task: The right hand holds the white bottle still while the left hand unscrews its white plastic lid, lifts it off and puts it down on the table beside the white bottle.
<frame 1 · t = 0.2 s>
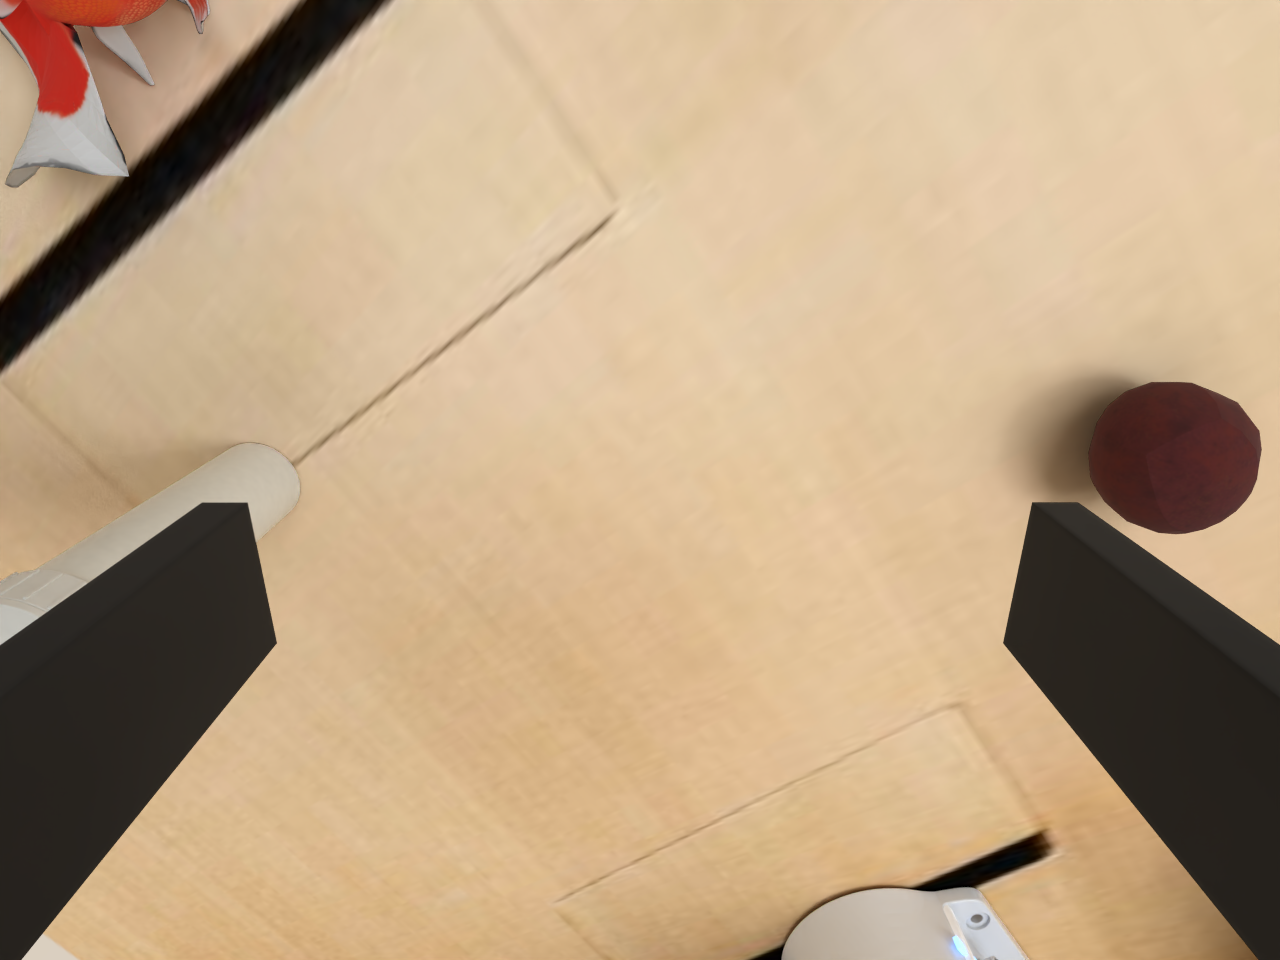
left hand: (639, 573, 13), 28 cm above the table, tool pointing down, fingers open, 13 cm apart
lid: (18, 663, 26), point 17 cm above the table, screwed on, not yet turned
white bottle: (258, 481, 42), on the table
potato: (1126, 433, 41), on the table
fish: (136, 51, 34), on the table
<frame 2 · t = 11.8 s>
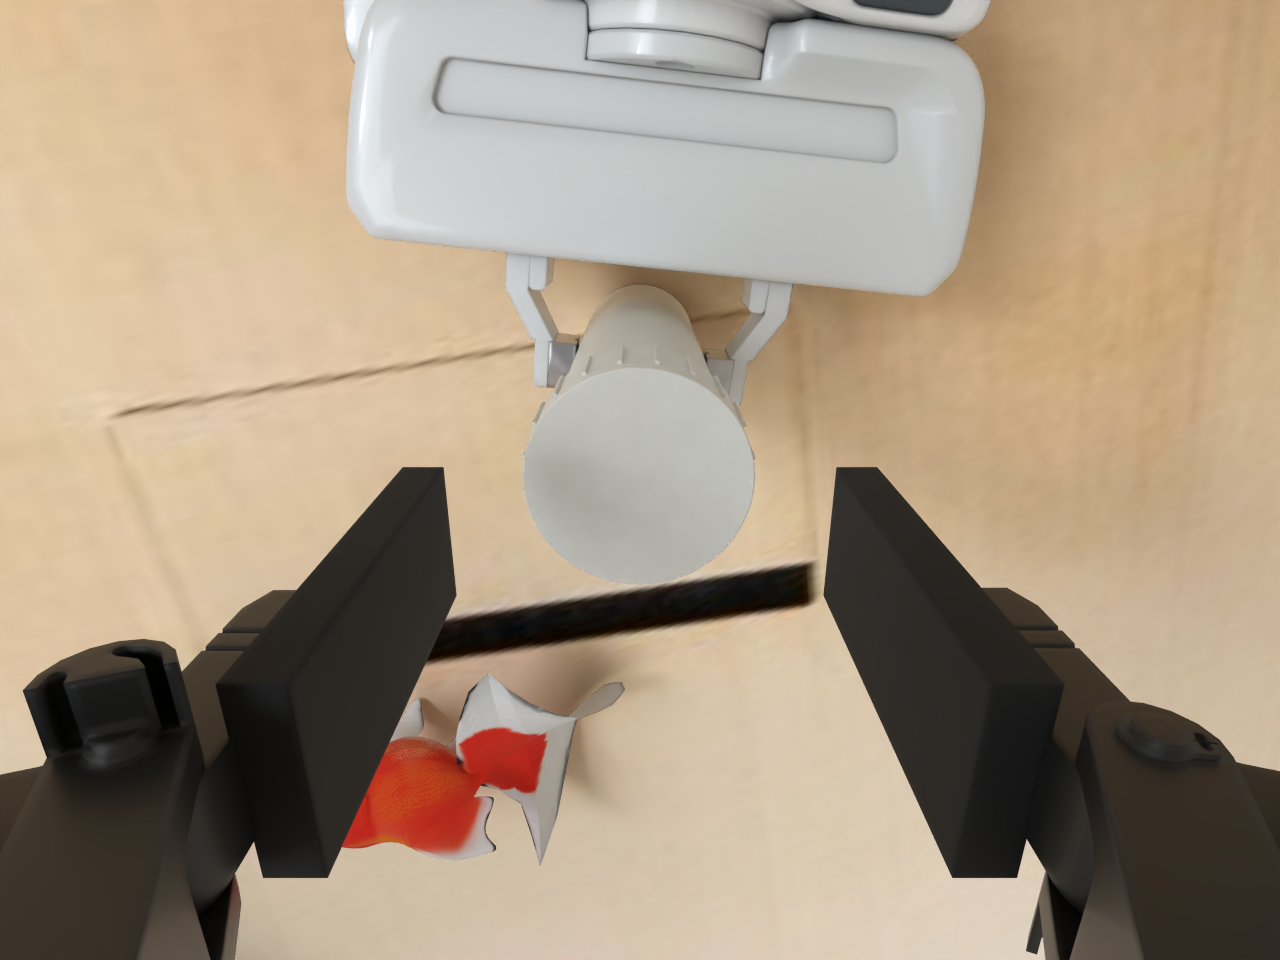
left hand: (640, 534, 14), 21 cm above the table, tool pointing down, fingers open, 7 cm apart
right hand: (638, 393, 28), fingers closed on white bottle, 5 cm apart
lid: (638, 476, 17), point 17 cm above the table, screwed on, not yet turned
white bottle: (639, 338, 33), on the table, touching right hand
fish: (491, 703, 40), on the table
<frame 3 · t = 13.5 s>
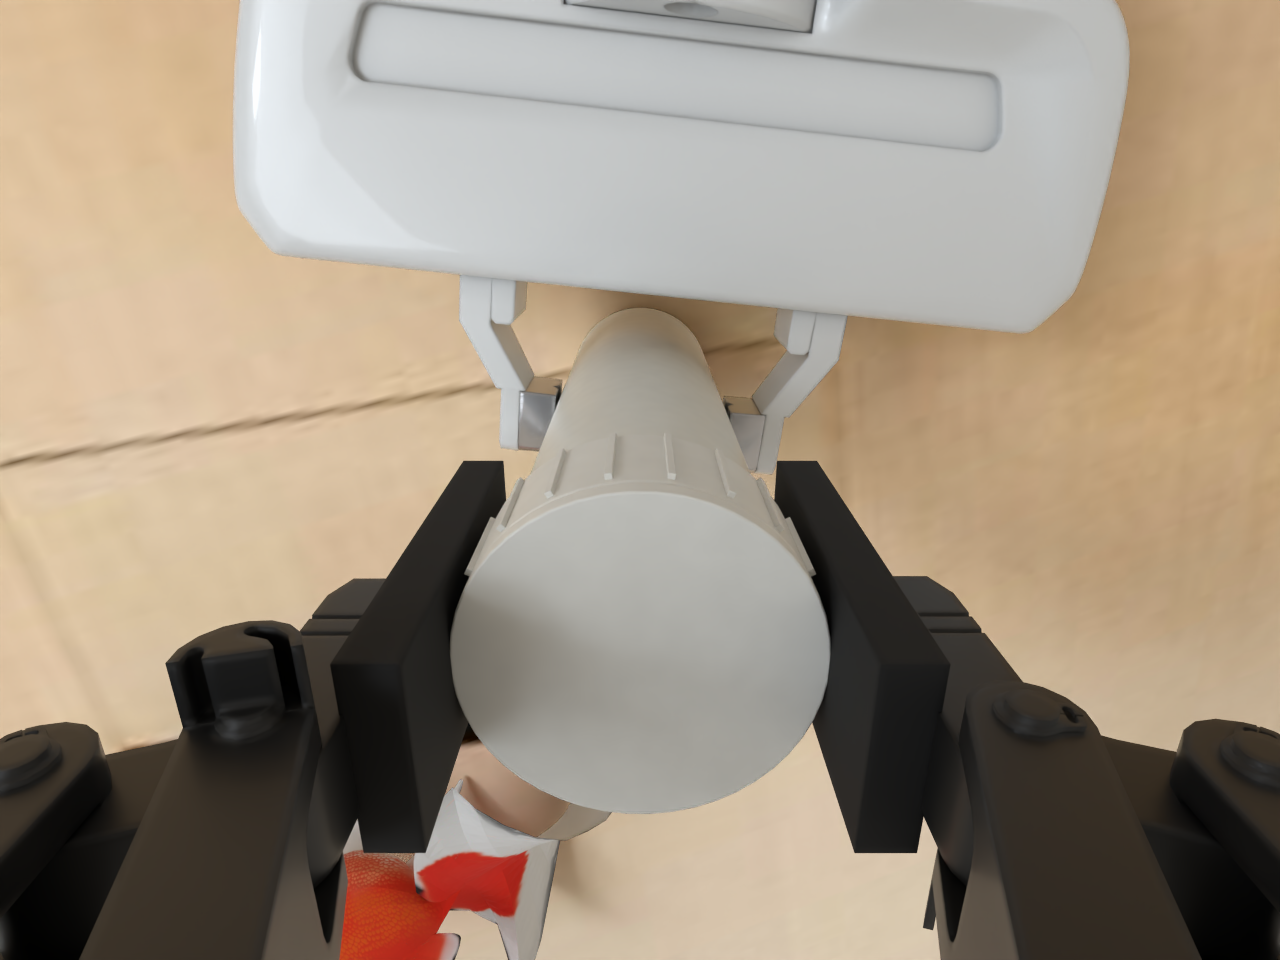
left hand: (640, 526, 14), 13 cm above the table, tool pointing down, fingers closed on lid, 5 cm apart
right hand: (638, 456, 21), fingers closed on white bottle, 5 cm apart
lid: (640, 653, 11), point 17 cm above the table, screwed on, not yet turned, touching left hand
white bottle: (640, 373, 27), on the table, touching right hand
fish: (463, 801, 34), on the table
when the left hand's fingers open (13 cm above the table, at t = 14.7 s): lid stays where it is, point 18 cm above the table.
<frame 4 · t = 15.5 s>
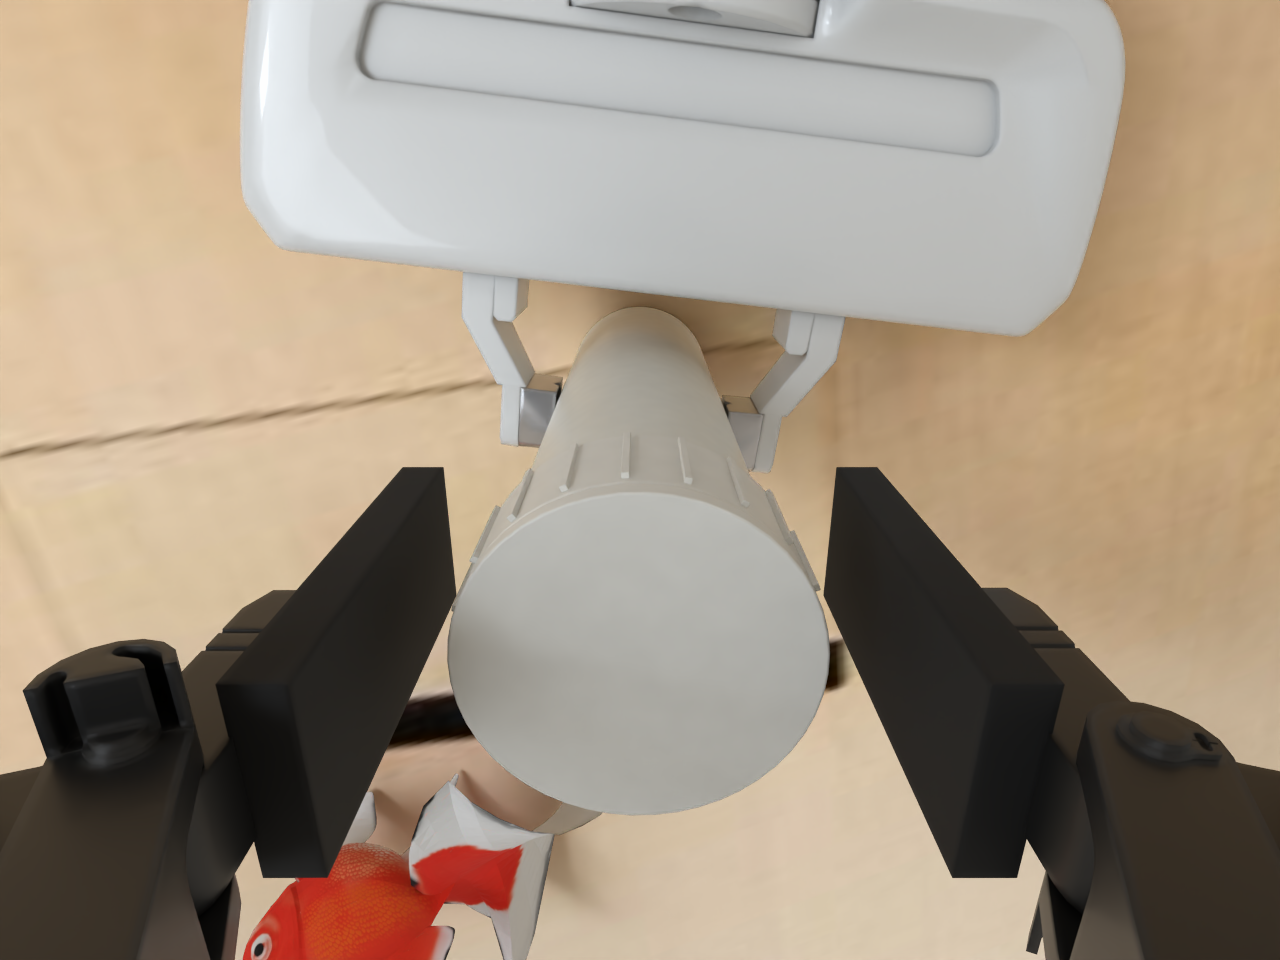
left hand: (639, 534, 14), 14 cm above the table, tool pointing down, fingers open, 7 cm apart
right hand: (637, 453, 21), fingers closed on white bottle, 5 cm apart
lid: (638, 654, 10), point 18 cm above the table, turned 85° so far, risen 0.2 cm, still on its thread
white bottle: (639, 372, 27), on the table, touching right hand
fish: (458, 796, 34), on the table
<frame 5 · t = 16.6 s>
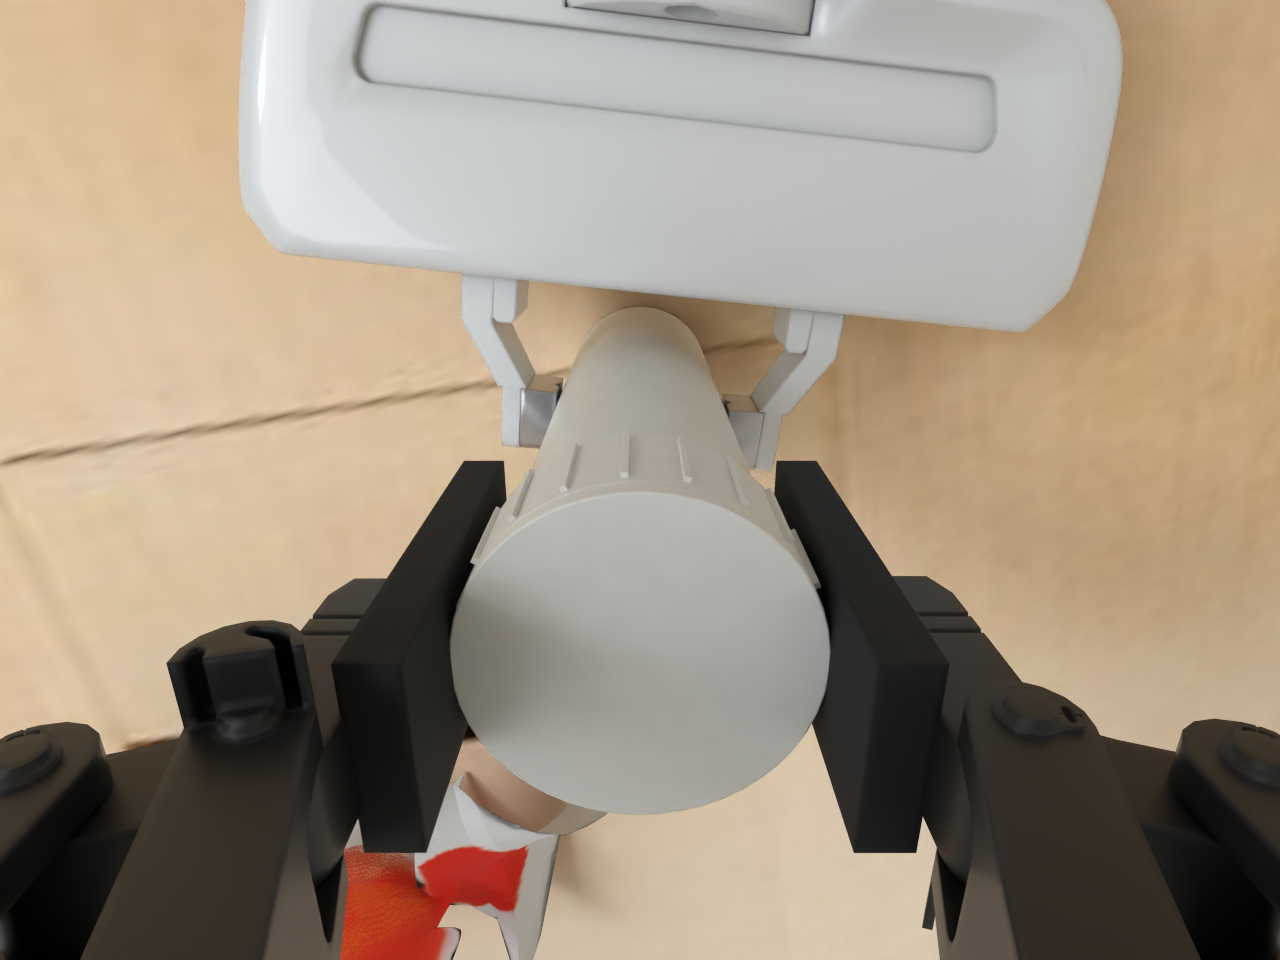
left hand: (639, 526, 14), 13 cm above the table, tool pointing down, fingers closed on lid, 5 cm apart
right hand: (638, 453, 21), fingers closed on white bottle, 5 cm apart
lid: (639, 654, 10), point 18 cm above the table, turned 85° so far, risen 0.2 cm, still on its thread, touching left hand
white bottle: (640, 372, 27), on the table, touching right hand
fish: (463, 797, 34), on the table
when the left hand's fingers open (0 cm above the table, at t = 23.2 s): lid drops 2 cm, point 2 cm above the table.
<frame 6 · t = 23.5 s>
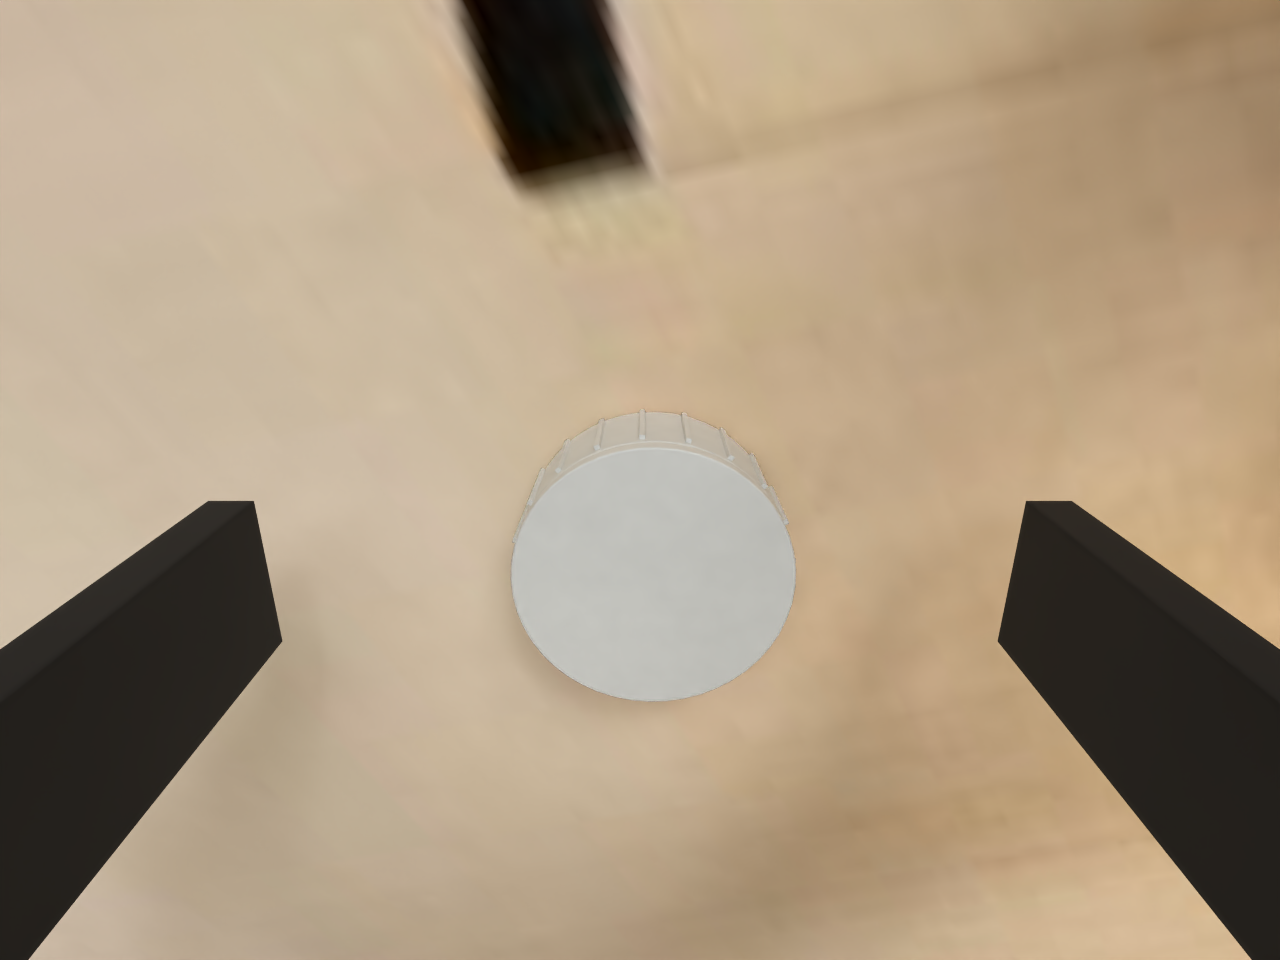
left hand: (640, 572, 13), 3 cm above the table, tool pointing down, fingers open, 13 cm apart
lid: (652, 574, 14), point 2 cm above the table, off its thread
when the right hand's fingers open (6 cm above the table, at t = 23.9 s): white bottle stays where it is, on the table.
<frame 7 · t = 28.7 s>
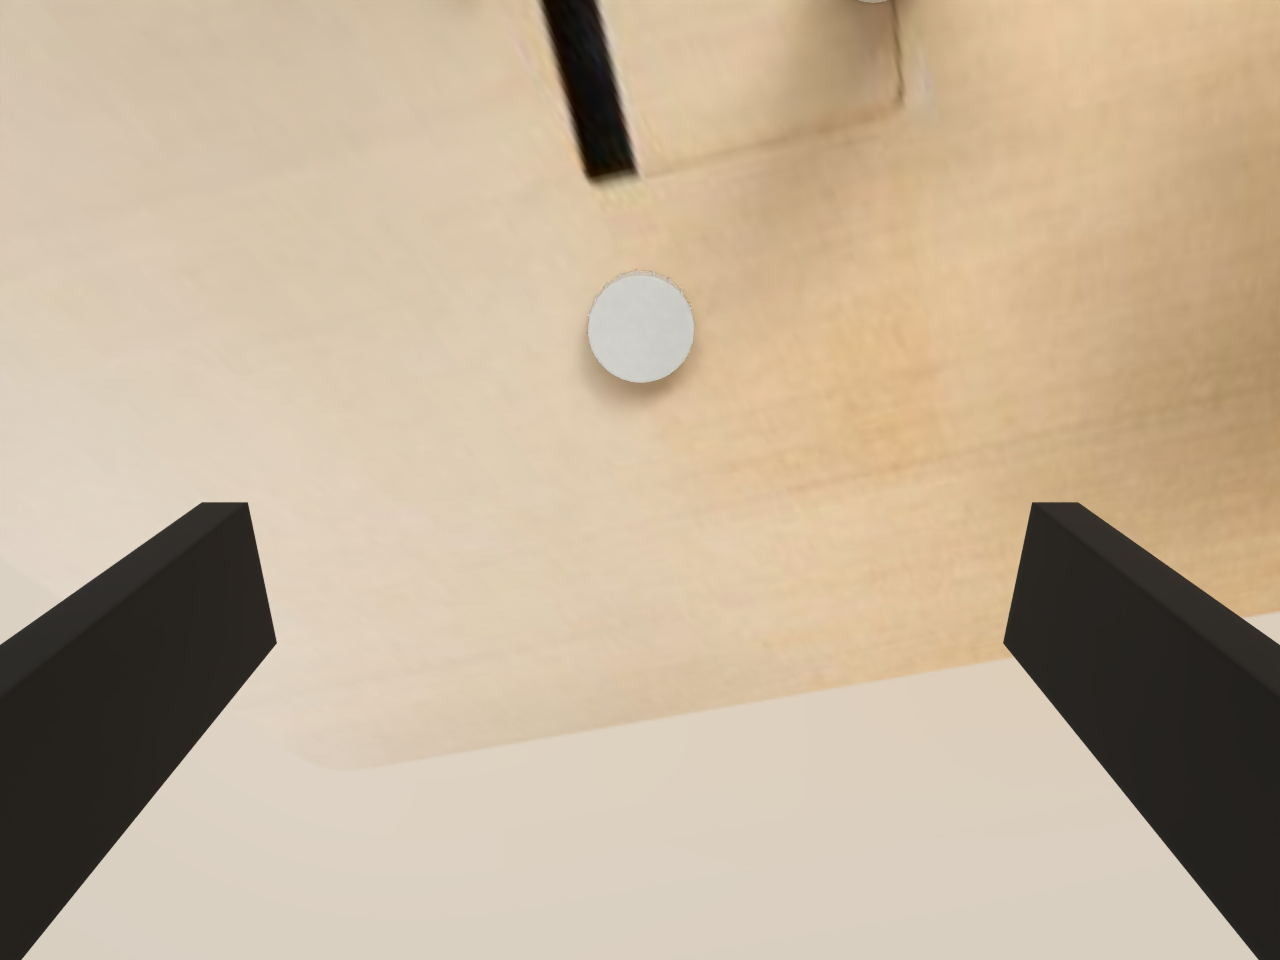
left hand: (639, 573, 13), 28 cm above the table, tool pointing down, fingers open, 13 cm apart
lid: (641, 329, 37), point 2 cm above the table, off its thread
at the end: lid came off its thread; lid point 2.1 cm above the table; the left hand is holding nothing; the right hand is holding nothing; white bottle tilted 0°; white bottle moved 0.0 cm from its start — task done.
